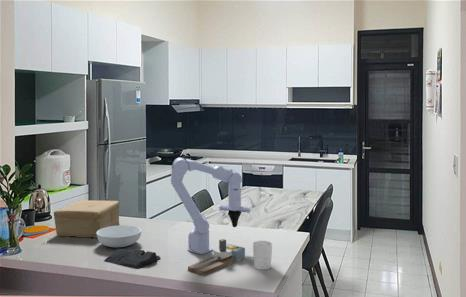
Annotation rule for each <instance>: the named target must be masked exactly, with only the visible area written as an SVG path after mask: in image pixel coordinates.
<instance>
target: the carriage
mask: <svg viewBox="0 0 466 297" xmlns="http://www.w3.org/2000/svg"><path fill="white" fill-rule="evenodd" d="M226 245H227V240H226V239H219V240H218V248H217V249H213V256H216V258H217V257H221V260H223V259H225V258H228V257H230V256H231V255H232V250H228V249H226Z"/></svg>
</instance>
